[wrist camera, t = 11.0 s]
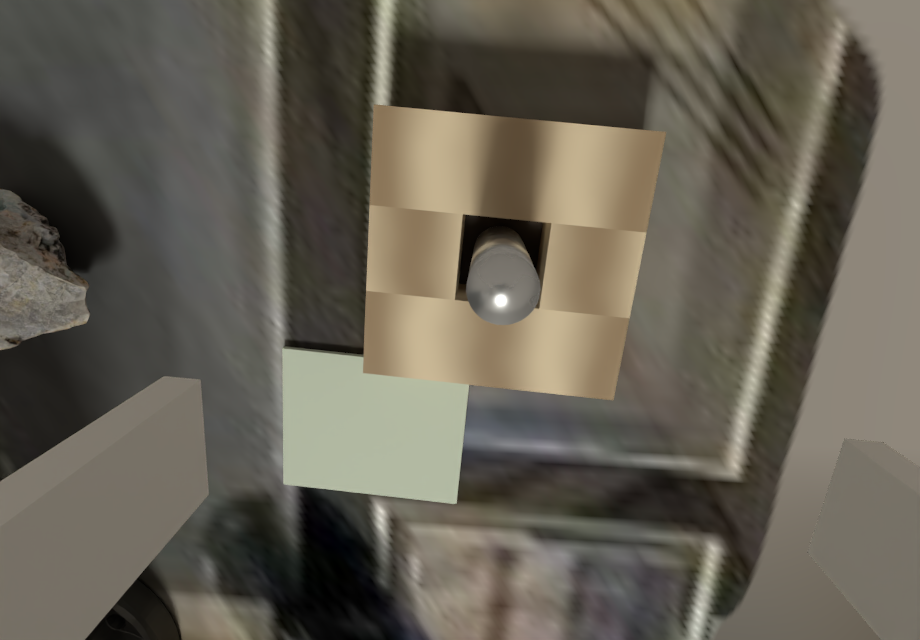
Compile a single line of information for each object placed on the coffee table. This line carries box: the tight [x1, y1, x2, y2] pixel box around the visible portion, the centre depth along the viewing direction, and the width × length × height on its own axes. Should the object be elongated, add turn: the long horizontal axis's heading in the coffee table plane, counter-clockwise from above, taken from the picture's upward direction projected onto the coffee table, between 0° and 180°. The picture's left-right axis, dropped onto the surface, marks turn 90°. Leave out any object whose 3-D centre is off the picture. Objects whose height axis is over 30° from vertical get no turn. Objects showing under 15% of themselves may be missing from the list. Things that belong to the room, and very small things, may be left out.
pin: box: [466, 226, 541, 325], centre depth 26 cm, size 3×3×10 cm
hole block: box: [363, 105, 666, 400], centre depth 28 cm, size 14×14×4 cm
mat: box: [282, 346, 469, 504], centre depth 34 cm, size 12×10×1 cm
